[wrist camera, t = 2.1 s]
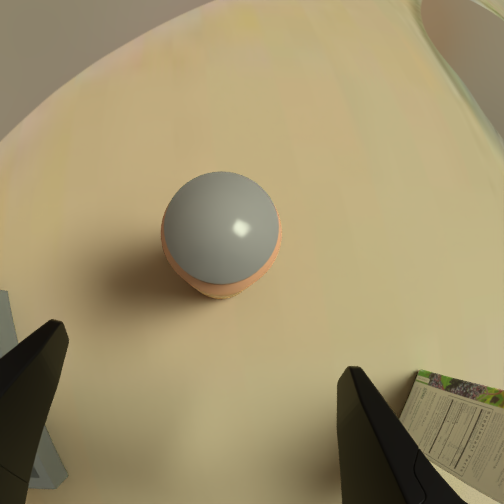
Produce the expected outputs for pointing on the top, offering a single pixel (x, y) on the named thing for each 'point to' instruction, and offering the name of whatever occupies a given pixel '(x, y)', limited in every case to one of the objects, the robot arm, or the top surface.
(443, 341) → the top surface
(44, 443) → the tray
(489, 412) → the syrup box
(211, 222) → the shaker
